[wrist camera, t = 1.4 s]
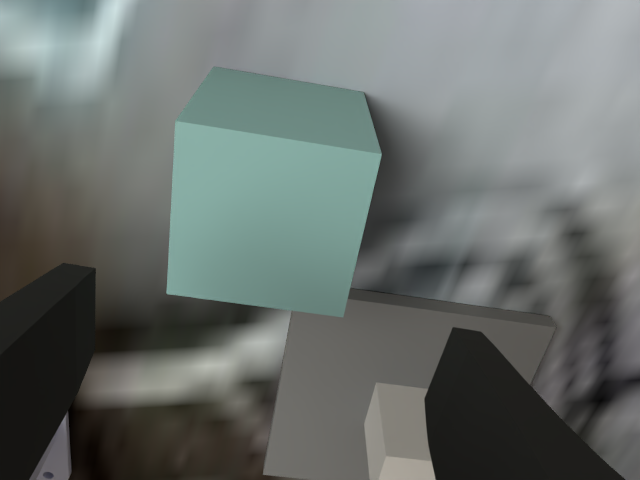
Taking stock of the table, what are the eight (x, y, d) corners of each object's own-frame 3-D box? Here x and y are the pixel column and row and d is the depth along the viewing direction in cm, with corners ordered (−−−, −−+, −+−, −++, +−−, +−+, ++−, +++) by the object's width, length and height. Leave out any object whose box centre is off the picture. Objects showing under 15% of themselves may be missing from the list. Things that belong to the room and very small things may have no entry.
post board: (264, 461, 29) (255, 552, 25) (297, 280, 24) (293, 358, 19) (473, 484, 30) (499, 576, 26) (549, 316, 25) (598, 397, 20)
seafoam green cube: (202, 203, 22) (166, 293, 16) (213, 66, 19) (175, 120, 14) (336, 223, 22) (343, 317, 17) (363, 92, 20) (381, 154, 14)
